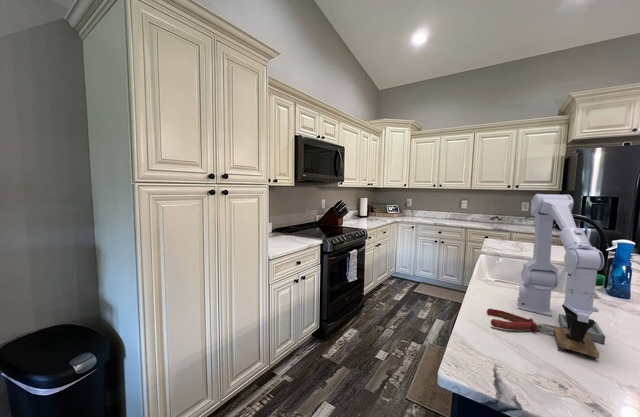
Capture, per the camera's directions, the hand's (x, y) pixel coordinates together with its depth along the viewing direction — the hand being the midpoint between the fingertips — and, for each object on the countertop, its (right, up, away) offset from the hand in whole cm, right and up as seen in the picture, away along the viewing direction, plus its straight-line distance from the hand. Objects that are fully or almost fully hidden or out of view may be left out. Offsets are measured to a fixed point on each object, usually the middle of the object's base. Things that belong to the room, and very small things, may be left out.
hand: (574, 335), depth 75 cm
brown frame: (0, -3, 0) cm, 3 cm away
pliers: (-8, -2, +9) cm, 13 cm away
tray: (+10, -3, +8) cm, 13 cm away
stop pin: (0, -3, 0) cm, 3 cm away
